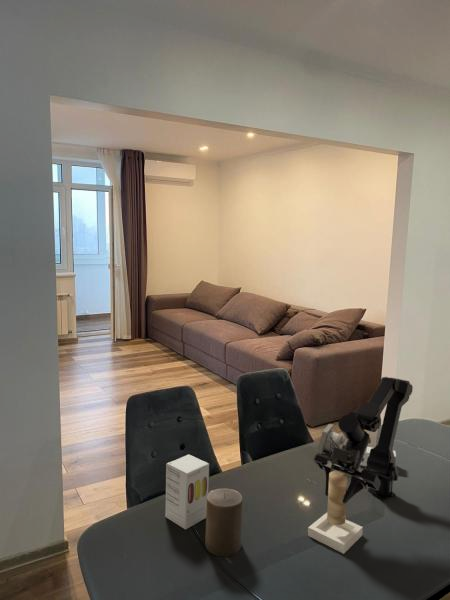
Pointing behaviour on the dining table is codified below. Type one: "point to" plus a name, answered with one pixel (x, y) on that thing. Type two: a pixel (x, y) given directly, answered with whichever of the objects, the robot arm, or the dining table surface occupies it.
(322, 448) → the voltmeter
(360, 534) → the tool holder
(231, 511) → the pillar candle
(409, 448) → the dining table surface
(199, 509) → the supplement box
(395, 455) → the syrup box
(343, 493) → the wooden tool handle
